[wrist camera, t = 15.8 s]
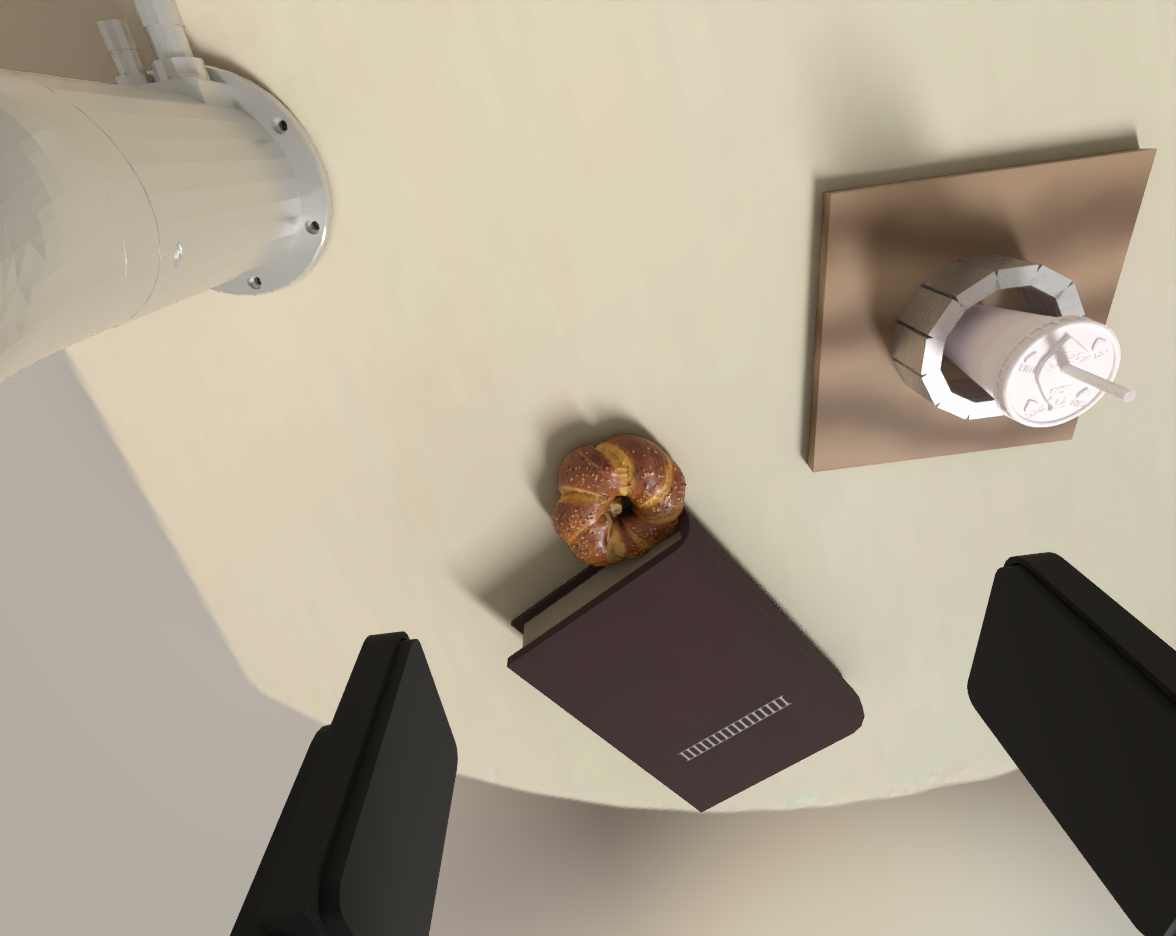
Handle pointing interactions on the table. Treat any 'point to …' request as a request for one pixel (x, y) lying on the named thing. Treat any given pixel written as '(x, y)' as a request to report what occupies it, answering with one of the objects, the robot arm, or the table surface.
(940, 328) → the steel sleeve
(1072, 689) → the robot arm
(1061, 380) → the smoothie
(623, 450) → the pretzel
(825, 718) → the book
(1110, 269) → the walnut board
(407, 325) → the table surface
